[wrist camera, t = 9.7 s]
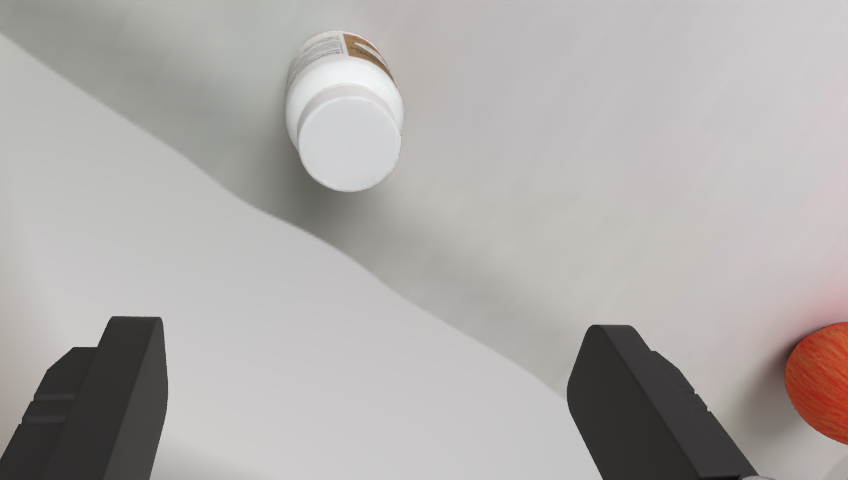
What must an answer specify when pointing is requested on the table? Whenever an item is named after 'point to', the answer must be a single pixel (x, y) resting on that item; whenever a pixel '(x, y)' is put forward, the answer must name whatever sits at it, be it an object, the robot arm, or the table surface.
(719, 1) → the table surface
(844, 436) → the apple
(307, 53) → the pill bottle
